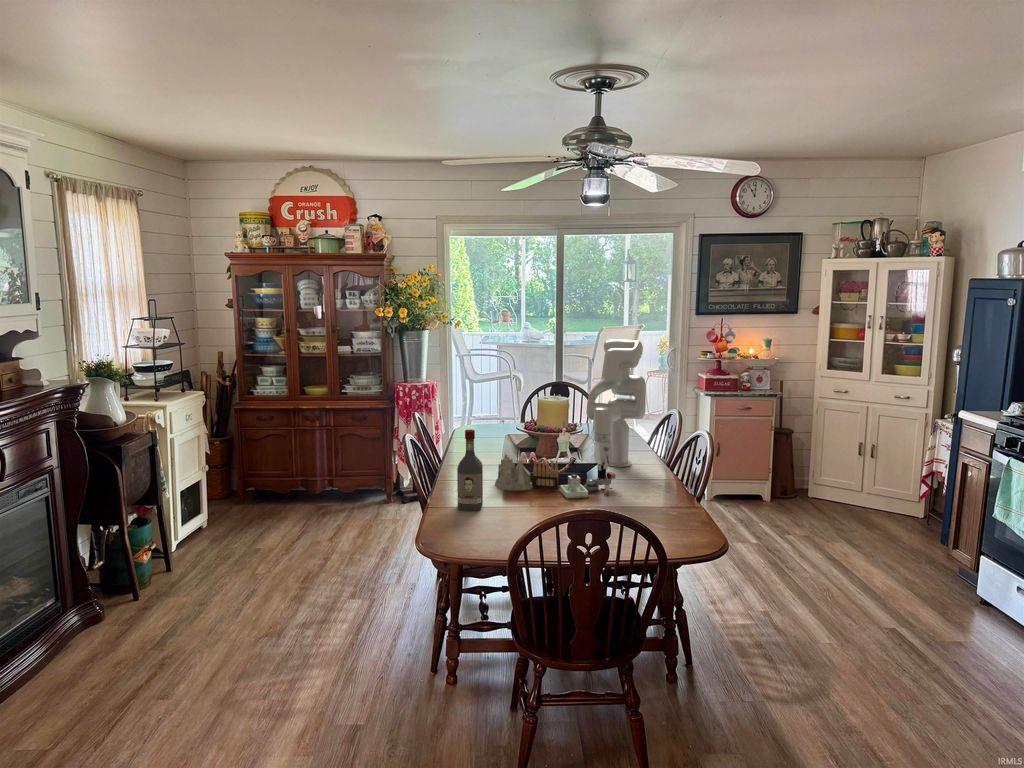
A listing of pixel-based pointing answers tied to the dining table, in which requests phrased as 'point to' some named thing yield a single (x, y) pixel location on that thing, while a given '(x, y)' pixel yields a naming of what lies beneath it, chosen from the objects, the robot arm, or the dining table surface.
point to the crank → (601, 480)
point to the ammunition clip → (545, 475)
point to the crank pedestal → (596, 489)
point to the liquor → (470, 477)
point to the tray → (581, 493)
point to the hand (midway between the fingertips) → (601, 479)
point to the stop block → (573, 483)
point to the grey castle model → (513, 476)
